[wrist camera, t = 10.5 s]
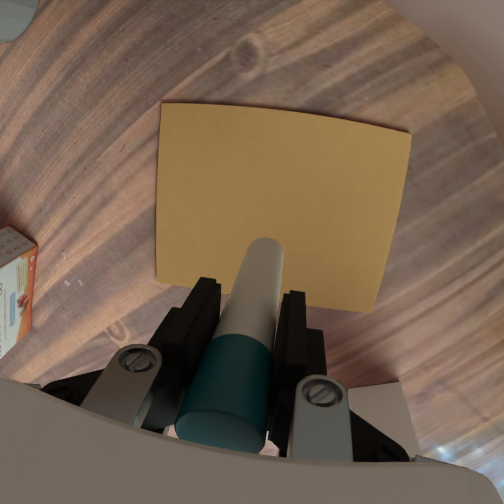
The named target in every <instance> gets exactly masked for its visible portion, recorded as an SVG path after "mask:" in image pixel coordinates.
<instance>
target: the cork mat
mask: <svg viewBox="0 0 504 504" xmlns="http://www.w3.org/2000/svg"><path fill="white" fill-rule="evenodd" d="M411 140H412V134H409V133H405V132H401V131H397V130H393V129H388V128H384V127H379V126H375V125H370V124H365V123H360V122H355V121H350V120H344V119H339V118H333V117H327V116H321V115H314V114H308V113H300V112H293V111H285V110H276V109H267V108H257V107H246V106H232V105H216V104H192V103H162V108H161V121H160V134H159V150H158V170H157V201H156V269H157V282H160V283H165V284H171V285H176V286H182V287H188V288H194V286H195V285H196V283H197V281H198V280H199V278H200V277H207V278H214V279H216V281H217V283H220V284H221V293H224V294H230V292H231V289H232V287H233V284H234V282H235V279H236V277H237V274H238V272H239V269H240V267H241V264H242V262H243V259H244V257H245V254H246V252H247V249H248V247H249V245H250V244H251V243H252V242H253V241H254V240H256V239H258V238H261V237H269V238H272V239H274V240H276V241H277V242H278V243H279V244H280V245H281V246H282V248H283V252H284V260H283V269H282V279H281V288H280V297H279V302H282V299H283V293H287V294H289V292H290V290H294V291H302V292H305V296H306V306H313V307H321V308H329V309H337V310H345V311H353V312H362V313H371V314H372V312H373V308H374V305H375V302H376V299H377V295H378V292H379V288H380V285H381V281H382V278H383V274H384V271H385V267H386V263H387V259H388V255H389V251H390V247H391V243H392V239H393V235H394V231H395V226H396V222H397V217H398V213H399V208H400V203H401V198H402V193H403V188H404V183H405V177H406V171H407V166H408V159H409V153H410V147H411Z"/></svg>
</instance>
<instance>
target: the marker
mask: <svg viewBox="0 0 504 504" xmlns="http://www.w3.org/2000/svg"><path fill="white" fill-rule="evenodd" d="M283 260H284V252H283V248H282V246H281V245H280V244H279V243H278V242H277V241H276V240H274V239H272V238H269V237H261V238H258V239H256V240H254V241H253V242H252V243H251V244H250V245H249V247H248V249H247V252H246V254H245V257H244V259H243V262H242V264H241V267H240V269H239V272H238V274H237V277H236V279H235V282H234V284H233V287H232V289H231V292H230V294H229V297H228V299H227V302H226V304H225V307H224V309H223V312H222V314H221V317H220V319H219V322H218V324H217V327H216V329H215V332H214V334H213V337H212V339H211V341H210V342H209V343H208V344H207V345H206V347H205V348H204V351H203V353H202V355H201V358H200V360H199V363H198V365H197V368H196V370H195V372H194V375H193V377H192V380H191V382H190V384H189V387H188V389H187V392H186V394H185V397H184V399H183V402H182V404H181V406H180V409H179V411H178V414H177V416H176V419H175V422H174V427H175V432H176V434H177V436H178V438H179V439H182V440H186V441H190V442H195V443H199V444H204V445H208V446H213V447H218V448H224V449H229V450H235V451H241V452H247V453H253V454H258V453H259V452H260V451H261V450H262V449H263V447H264V445H265V441H266V433H267V426H268V418H269V410H270V402H271V399H270V392H271V384H272V376H273V368H274V358H273V349H274V341H275V332H276V324H277V315H278V306H279V297H280V288H281V279H282V269H283Z"/></svg>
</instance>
